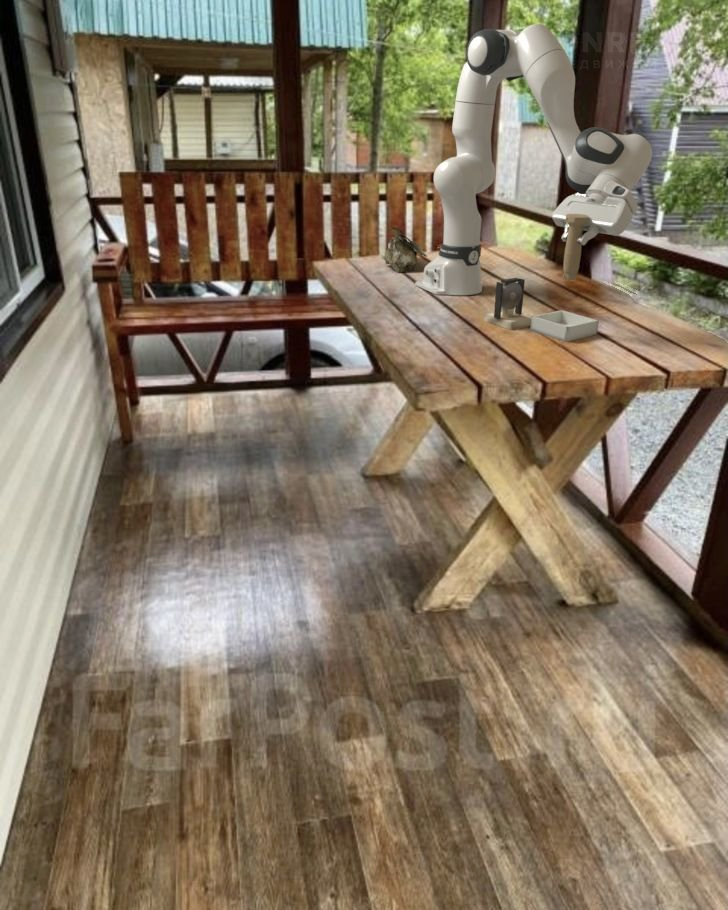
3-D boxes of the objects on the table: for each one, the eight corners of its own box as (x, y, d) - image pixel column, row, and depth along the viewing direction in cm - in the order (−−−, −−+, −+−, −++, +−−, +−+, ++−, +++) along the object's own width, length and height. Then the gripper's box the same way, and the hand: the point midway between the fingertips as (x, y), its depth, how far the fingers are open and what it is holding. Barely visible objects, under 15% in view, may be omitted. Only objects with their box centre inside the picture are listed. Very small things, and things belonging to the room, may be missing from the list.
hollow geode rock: (398, 271, 279) (371, 241, 274) (423, 247, 275) (396, 216, 271) (401, 285, 253) (371, 252, 249) (428, 259, 249) (398, 225, 245)
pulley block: (482, 321, 196) (485, 277, 191) (505, 317, 200) (508, 274, 196) (509, 330, 189) (513, 285, 184) (531, 325, 193) (536, 281, 188)
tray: (529, 330, 189) (531, 316, 187) (560, 323, 195) (561, 310, 193) (566, 341, 180) (567, 327, 178) (596, 334, 185) (598, 320, 184)
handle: (564, 282, 178) (572, 217, 172) (555, 276, 184) (562, 214, 178) (583, 281, 179) (592, 217, 172) (574, 276, 185) (582, 213, 178)
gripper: (566, 183, 184) (535, 227, 183) (635, 191, 168) (600, 238, 168) (576, 201, 188) (545, 244, 187) (644, 209, 172) (610, 256, 172)
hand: (572, 241), depth 177 cm, fingers closed on handle, 3 cm apart
